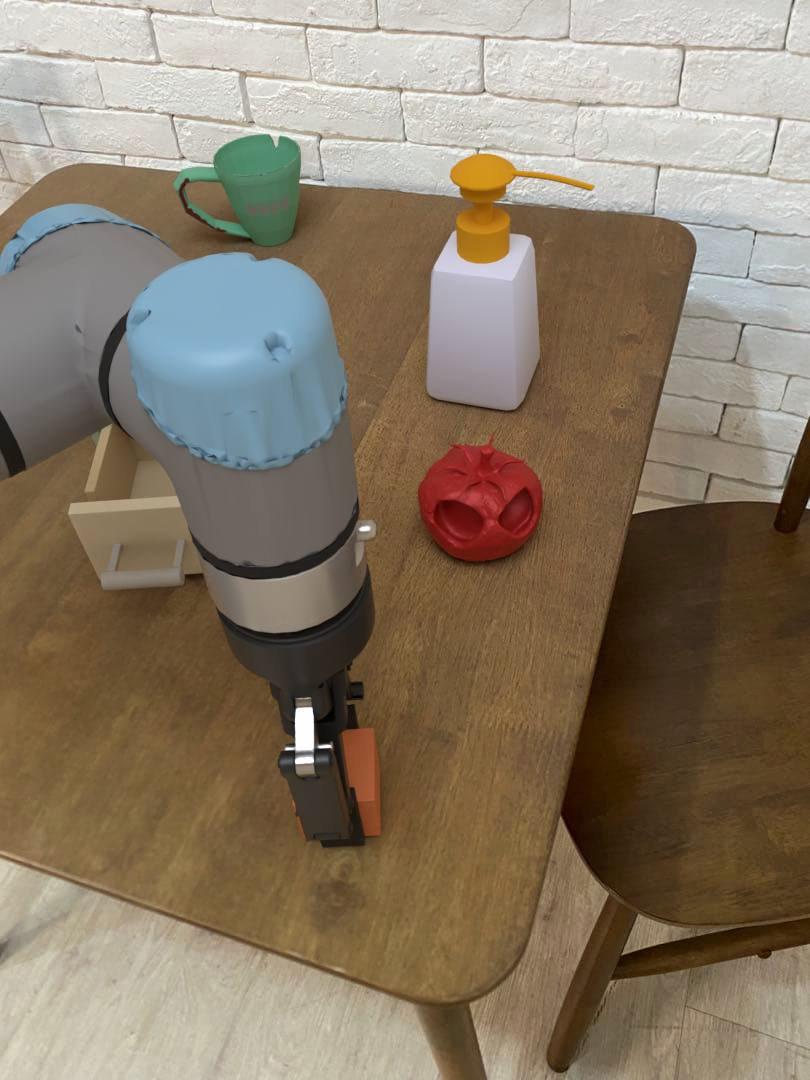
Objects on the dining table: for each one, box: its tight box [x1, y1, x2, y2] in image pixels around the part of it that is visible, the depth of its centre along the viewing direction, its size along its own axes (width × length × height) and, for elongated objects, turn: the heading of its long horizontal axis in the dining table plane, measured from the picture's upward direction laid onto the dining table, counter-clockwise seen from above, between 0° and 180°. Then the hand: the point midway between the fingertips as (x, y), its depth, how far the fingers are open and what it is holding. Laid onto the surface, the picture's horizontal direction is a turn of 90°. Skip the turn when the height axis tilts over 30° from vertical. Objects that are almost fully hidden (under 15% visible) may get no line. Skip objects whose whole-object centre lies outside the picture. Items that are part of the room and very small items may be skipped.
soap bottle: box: [425, 153, 596, 411], centre depth 82 cm, size 10×14×22 cm
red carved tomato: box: [417, 430, 544, 562], centre depth 75 cm, size 10×10×9 cm
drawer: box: [67, 423, 203, 592], centre depth 76 cm, size 18×10×8 cm, turn 2°
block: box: [292, 727, 382, 840], centre depth 60 cm, size 5×5×5 cm
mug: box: [172, 133, 302, 247], centre depth 108 cm, size 15×10×10 cm
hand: (343, 799), depth 62 cm, fingers closed on block, 5 cm apart
